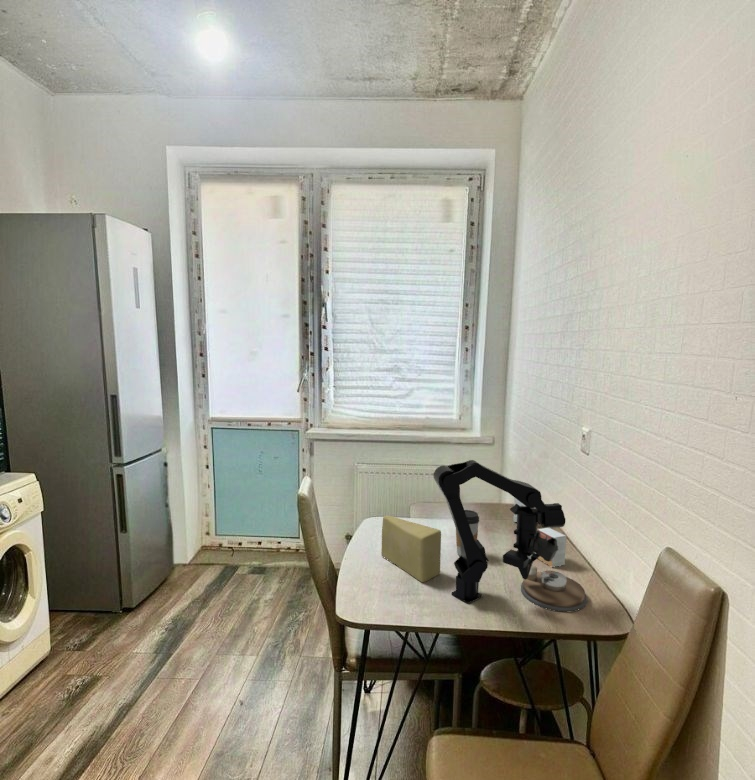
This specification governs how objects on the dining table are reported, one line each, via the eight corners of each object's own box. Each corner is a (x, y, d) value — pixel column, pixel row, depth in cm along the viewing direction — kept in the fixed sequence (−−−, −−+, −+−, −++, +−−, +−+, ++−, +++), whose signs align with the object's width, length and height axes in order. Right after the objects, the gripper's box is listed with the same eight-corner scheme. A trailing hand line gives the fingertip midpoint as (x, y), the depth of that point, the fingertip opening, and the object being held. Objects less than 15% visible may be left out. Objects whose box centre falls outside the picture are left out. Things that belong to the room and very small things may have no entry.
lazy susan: (565, 614, 119) (566, 596, 119) (511, 588, 132) (511, 571, 132) (595, 593, 130) (596, 577, 129) (542, 571, 143) (543, 556, 143)
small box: (535, 558, 155) (536, 528, 154) (547, 555, 157) (549, 526, 156) (552, 568, 148) (553, 537, 147) (565, 565, 150) (566, 535, 149)
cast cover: (558, 595, 126) (558, 584, 126) (535, 584, 132) (536, 574, 131) (570, 587, 130) (571, 577, 130) (548, 577, 136) (549, 568, 136)
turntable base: (566, 619, 119) (566, 616, 119) (506, 590, 133) (506, 586, 133) (597, 597, 130) (598, 594, 130) (539, 572, 145) (539, 569, 144)
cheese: (372, 560, 152) (372, 517, 151) (392, 551, 159) (392, 510, 158) (422, 584, 136) (423, 537, 135) (441, 573, 143) (442, 528, 142)
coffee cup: (476, 561, 152) (478, 519, 151) (452, 557, 154) (453, 515, 153) (479, 551, 160) (480, 511, 158) (456, 548, 162) (457, 508, 161)
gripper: (541, 545, 118) (539, 601, 119) (566, 525, 132) (564, 576, 133) (502, 533, 125) (500, 587, 126) (529, 516, 139) (528, 564, 140)
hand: (525, 578), depth 131 cm, fingers closed
